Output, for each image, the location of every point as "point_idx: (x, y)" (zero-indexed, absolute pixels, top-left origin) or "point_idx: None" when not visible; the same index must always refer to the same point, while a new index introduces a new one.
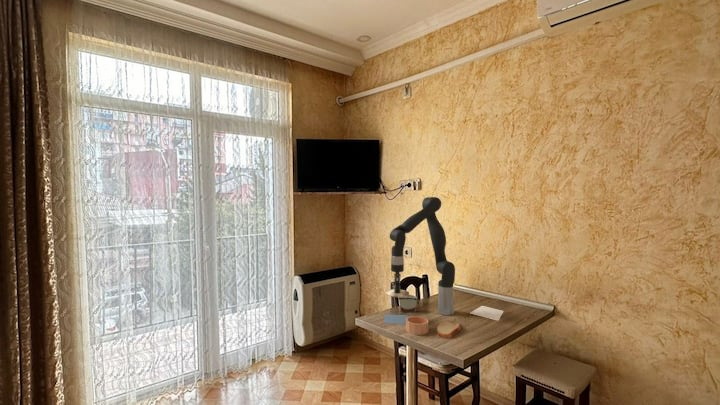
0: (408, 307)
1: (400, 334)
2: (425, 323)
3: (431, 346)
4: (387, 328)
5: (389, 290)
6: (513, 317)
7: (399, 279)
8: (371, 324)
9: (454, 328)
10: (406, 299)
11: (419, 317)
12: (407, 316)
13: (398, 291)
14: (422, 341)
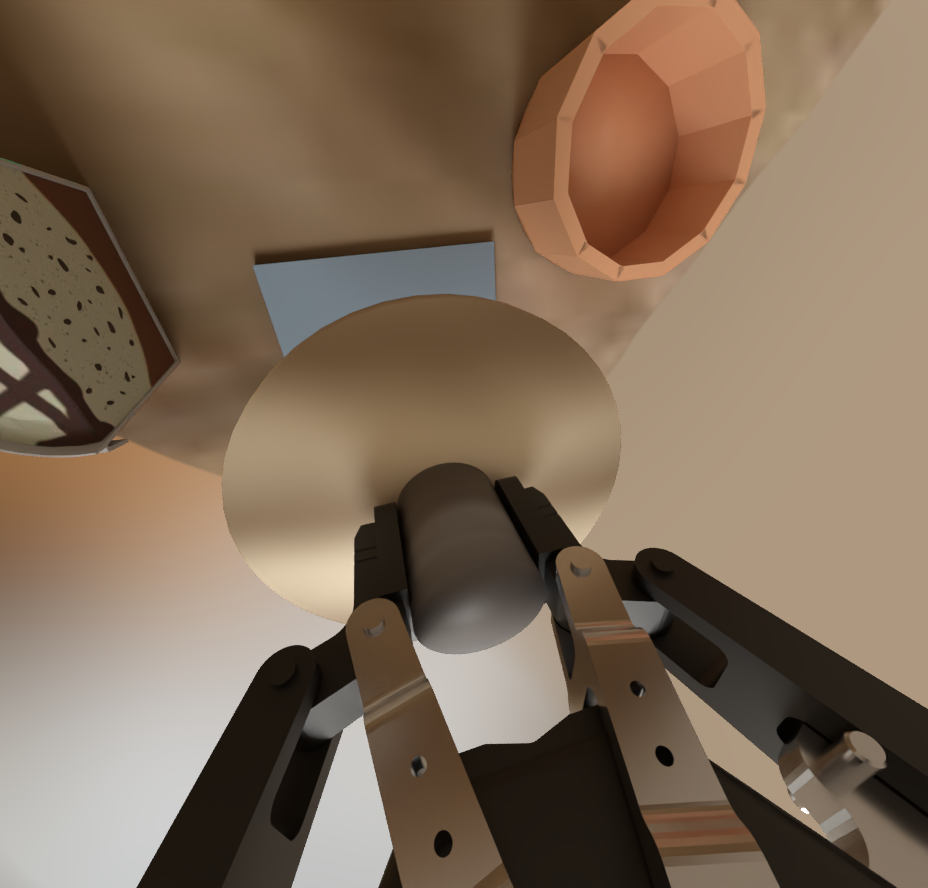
0: (99, 286)
1: (645, 303)
2: (755, 39)
3: (853, 42)
4: None
5: None
6: None
7: (685, 742)
8: None
9: None
10: (43, 337)
11: (573, 116)
12: (295, 280)
13: (521, 495)
14: (767, 123)
